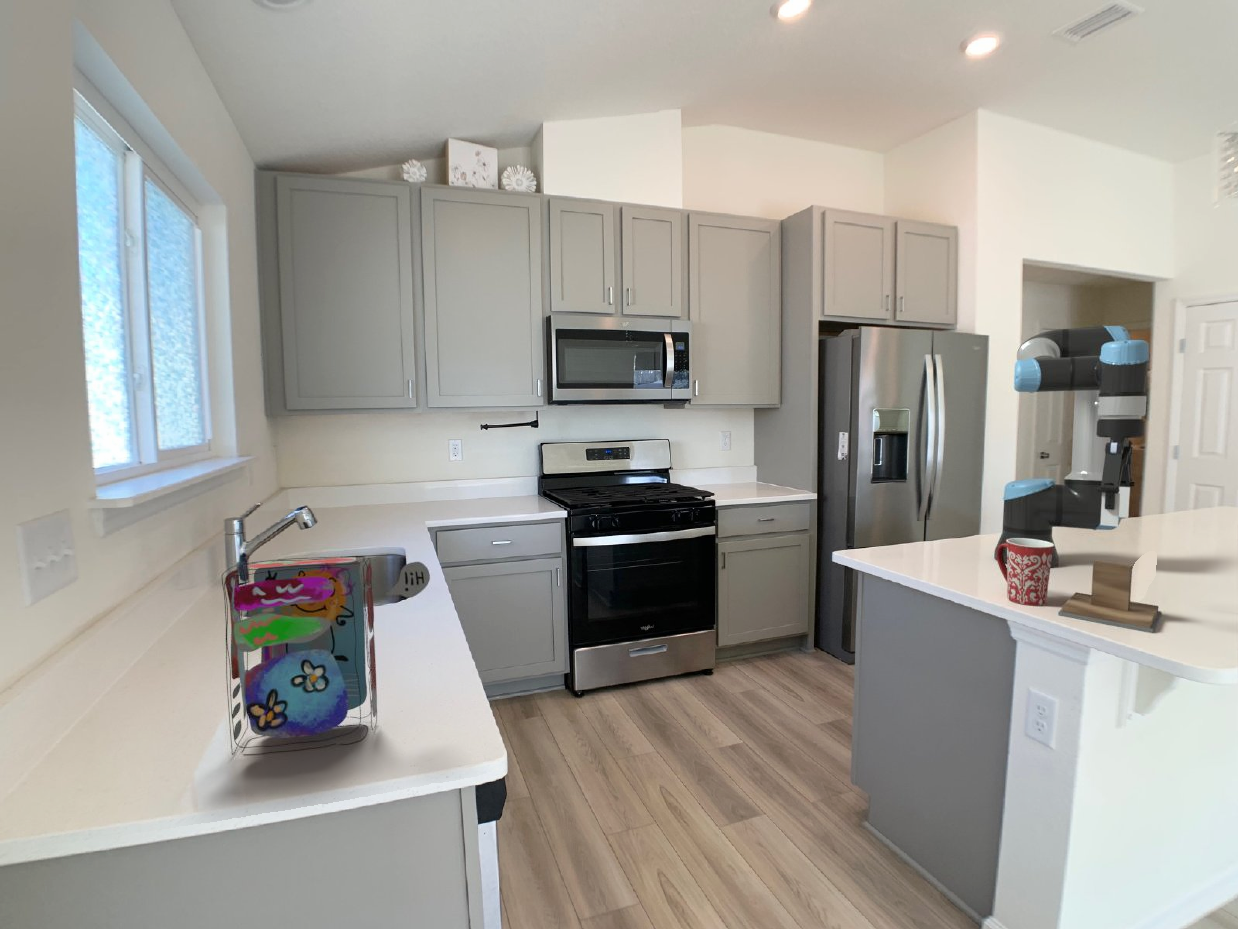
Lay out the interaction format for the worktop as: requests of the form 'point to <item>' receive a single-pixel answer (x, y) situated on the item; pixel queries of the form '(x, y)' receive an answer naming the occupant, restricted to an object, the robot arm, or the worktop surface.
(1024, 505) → the robot arm
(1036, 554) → the mug
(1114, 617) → the wooden base stand
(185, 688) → the worktop surface
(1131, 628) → the mat
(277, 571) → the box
